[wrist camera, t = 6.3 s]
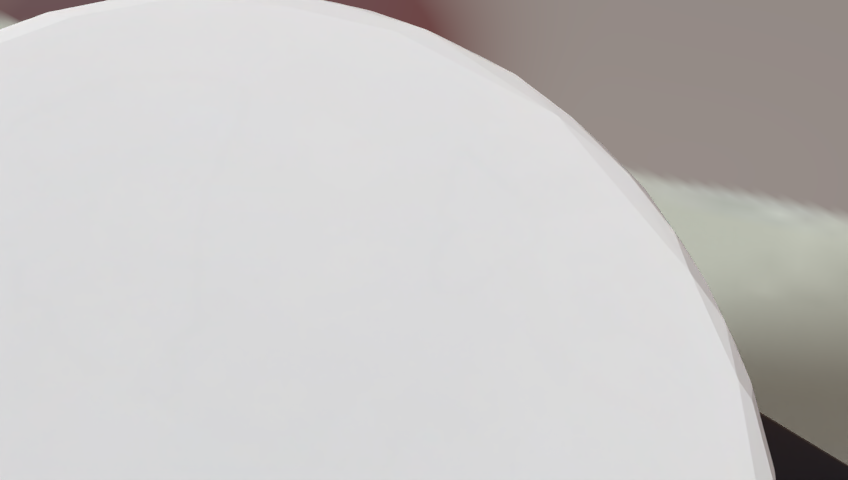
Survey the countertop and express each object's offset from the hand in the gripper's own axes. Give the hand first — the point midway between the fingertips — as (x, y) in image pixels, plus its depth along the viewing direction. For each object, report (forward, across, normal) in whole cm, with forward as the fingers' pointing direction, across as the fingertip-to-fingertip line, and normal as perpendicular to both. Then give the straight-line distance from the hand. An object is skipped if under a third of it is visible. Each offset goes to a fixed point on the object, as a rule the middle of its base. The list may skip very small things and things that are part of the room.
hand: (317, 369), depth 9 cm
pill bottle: (+4, 0, +6) cm, 7 cm away
